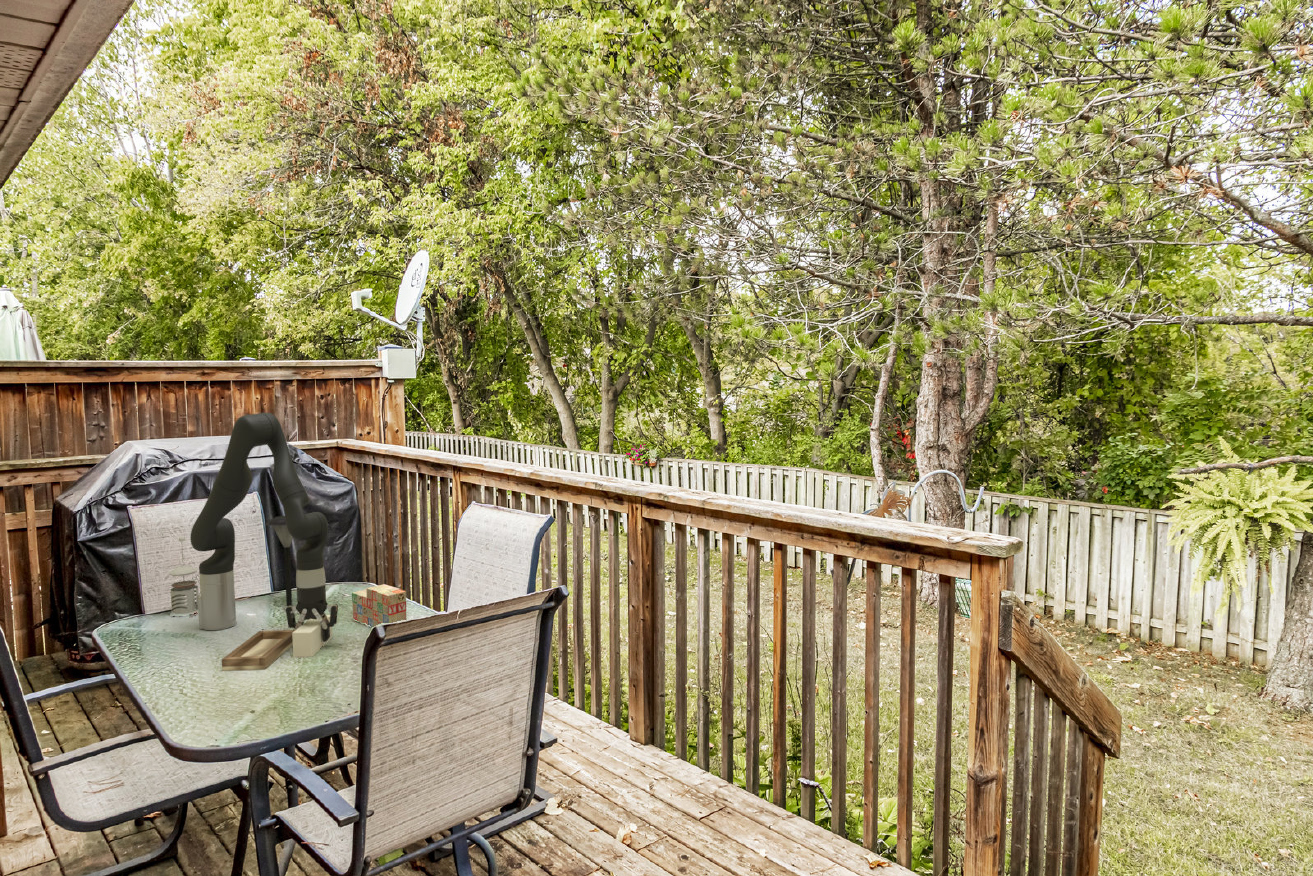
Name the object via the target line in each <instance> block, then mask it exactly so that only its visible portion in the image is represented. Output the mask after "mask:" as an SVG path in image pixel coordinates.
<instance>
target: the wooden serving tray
mask: <svg viewBox="0 0 1313 876" xmlns="http://www.w3.org/2000/svg"><path fill="white" fill-rule="evenodd" d="M294 631H295V629H285V630H284V629H282V630H281V629H279V630H278V629H277V630H259V631H257V632H256V633H255V634H254V635H252V636H250V637H249V638H248V639H246V640H245V641H244V642H243V643H241V644H240V645H238V646H237V647H236V648H235V649H233V650H232V651H231V652H229V653H228V654H227V655H225V656H224V657H223V658H221V670H222V671H245V670H250V671H251V670H253V671H254V670H266V669H268V667H269V666H271V665H272V664H274V662H276V661H277V660H278V659H279V658H280V657H281V656H282V655H284V653H286V652H287V651H288V650H289V649H290V648H291V647H293V639H292V633H293V632H294ZM286 650H287V651H286ZM285 651H286V652H285ZM276 659H277V660H276Z"/></svg>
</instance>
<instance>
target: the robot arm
mask: <svg viewBox="0 0 1313 876" xmlns="http://www.w3.org/2000/svg"><path fill="white" fill-rule="evenodd" d="M232 428H233V429H232V431H231V435H230V438H229V442H228V447H227V449H226V452H225V456H224V458H223V461H222V464H221V466H220V468H219V471H218V473H217V475H216V478H215V480H214V481H213V482H214V483H213V485H212V488H211V491H210V493H209V496H208V498H207V500H206V502H205V504H204V506H203V508H202V510H201V512H200V513H199V515H198V517H197V518H196V519H195V522H194V523H193V526H192V527H191V532H190V544H191V547H192V548H193V549H194V550H195V551H197V552H209V551H210V552H211V551H213V553H212V555H210V556H209V557H208V558H207V559H205V560H203V561H202V562H200V564H199V566H198V573H199V575H198V576H200V577H199V582H200V583H199V589H200V591H199V594H200V597H199V598H198V614H197V615H198V628H199V630H205V631H218V630H224V629H228V628H231V627H234V626H235V625H236V624H237V612H236V611H237V610H236V607H237V606H236V595H235V594H236V593H235V592H236V591H235V589H236V588H235V576H234V575H235V573H234V572H235V571H234V563H235V561H236V560H235V559H236V555H235V554H236V552H235V551H236V533H235V532H236V531H235V527H234V524H233V523H232V521H231V520H230V519H229V518H226V516H227V515H228V514H229V513H230V512H232V511H233V510H234V509H236V508H237V507H238V506H239V505H241V503H242V502H243V501H244V500H245V498H246V496H247V494H248V492H249V490H250V488H251V485H252V482H253V474H252V470H251V469H250V465H249V464H248V458H249V457H250V456H249V455H250V453H251V451H252V450H253V448H256V447H257V448H258V447H261V446H268V449H269V450H270V452H271V454H272V457H273V472H272V485H273V488H274V491H275V494H276V495H277V497H278V499H279V501H280V502H281V503H280V504H281V505H282V506H283V512H284V516H285V518H286V524H287V528H288V531H289V533H290V534H291V536H292V537H293V539H295V540H296V541H300V542H301V541H305V542H304V545H302V546H301V547H300V548H299V549H297V550H296V554H295V559H296V573H295V574H296V575H295V581H296V582H295V584H296V601H297V602H296V605H293V604H292V605H290V606H287V607H286V608H285V614H286V615H285V616H286V621H287V625H288V628H289V629H291V628H292V629H293V630H296V629H298V628H299V627H300V626H301V625H303V624H304V623H305V622H306V621H308V620H309V619H317V620H318V621H319V623H321V625H322V627H323V628H324V629H323V642H326V641H327V640H328V639H329V638H330V627H332V628H333V627H335V625H336V624H337V622H338V621H337V620H338V614H339V613H338V612H339V611H338V610H339V605H338V603H334V604H328V602H327V592H326V591H327V589H326V582H327V581H326V573H325V567H324V566H325V565H324V551H325V546H326V543H327V542H326V541H327V537H328V533H329V522H328V520H327V518H326V516H325V514H323V513H322V512H320V511H313V512H309V513H304V507H306V506H307V505H308V504H309V503H310V497H309V495H308V493H307V491H306V489H305V487H304V485H303V483H302V481H301V479H300V476H299V475H298V472H297V470H296V468H295V466H294V462H293V460H292V459H293V458H292V455H291V452H290V448H289V446H288V442H287V439H286V437H285V433H284V430H283V427H282V425H281V423H280V421H279V419H278V418H277V417H276V415H274V414H273V413H271V412H258V413H253V414H252V413H251V414H246V415H242V416H240V417H238V418H237V419H236V421H235V423H234V424H233V427H232ZM327 610H328V613H330V614H329V615H330V622H329V621H328V619H327V616H326V615H327V614H326V611H327ZM296 611H297V613H298V614H299V618H298V620H297V621H296V616H295V613H296Z"/></svg>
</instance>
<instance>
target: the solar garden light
mask: <svg viewBox="0 0 1313 876" xmlns="http://www.w3.org/2000/svg"><path fill="white" fill-rule="evenodd" d="M265 525H266V526H272V528H273V530H274V531H275V533H276V536H277V538H278V539H279V541H280V543H281V544H282V546H283V553H284V555H283V556H284V559H283V560H284V576H285V577H284V578H285V600H286V601H285V602H286V606H287V607H288V606H290V605H293V596H292V595H293V594H292V593H293V591H292V570H291V548H290V546H291V544H292V542H293V539H294V538H293V537H292V536H291V534H290V533H289V531H288V528H287V524H286V518H285V515H280V516H275V517H274V518H272V519H271V520H269V521H267V522H266V523H265Z"/></svg>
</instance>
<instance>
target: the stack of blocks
mask: <svg viewBox="0 0 1313 876" xmlns="http://www.w3.org/2000/svg"><path fill="white" fill-rule="evenodd" d="M351 601H352V614H353V615H352V616H353V617H352V618H353V619H355V620H357V621H359V622H361V623H366V624H367V625H370V626H371V627H374V626H376V625H378V624H381V623H393V622H397V621H401V620H406V621H407V591H406V590H403V589H401V588H398V587H395V586H391V585H388V584H384V583H383V584H380V585H374V586H371V587H367V588H366V589H362V590H358V591H354V592H353V591H352V593H351ZM353 619H352V620H353Z"/></svg>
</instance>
